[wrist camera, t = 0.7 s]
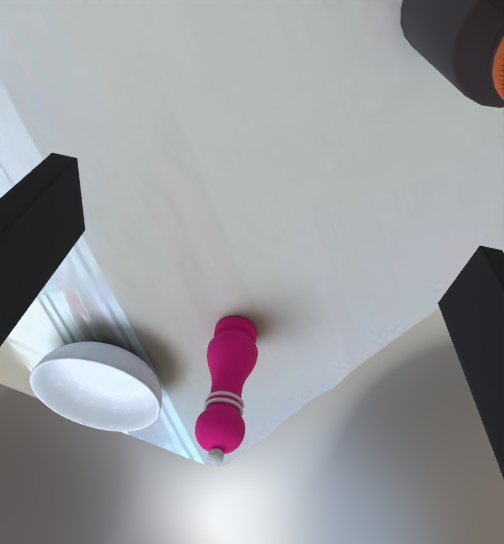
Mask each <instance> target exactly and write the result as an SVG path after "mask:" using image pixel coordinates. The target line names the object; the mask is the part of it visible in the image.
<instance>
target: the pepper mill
mask: <svg viewBox="0 0 504 544" xmlns="http://www.w3.org/2000/svg"><path fill="white" fill-rule="evenodd" d="M256 335H257V331H256V328H255V326H254V325H253V324H252V322H250V321H249V320H247V319H245V318H242V317H238V316H230V317H226V318H223V319H221V320H220V321H219V322H218V323H217V325H216V328H215V333H214V338H213V339H212V340H211V341H210V343H209V345H208V350H207V361H208V366H209V369H210V373H211V377H212V387H211V392H210V394H209V395H207V396H206V398H205V404H204V411H203V412H202V413H201V414H200V416H199V417H198V419H197V421H196V426H195V435H196V439H197V441H198V443H199V444H200V445H201V447H202V448H203V449H205V450H206V451H208V452H209V454H208V460H209V462H210V463H211V464H213V465H218V464H220V463H221V462H222V460H223V458H224V455H223V454H227V453H230V452H232V451H234V450H235V449H237V448H238V447H239V445H240V444H241V443H242V441H243V438H244V434H245V423H244V420H243V418H242V417H241V416H242V415H243V408H244V402H243V400H242V399H241V393H242V388H243V384H244V382H245V380H246V379H247V377H248V376H249V374H250V373H251V372H252V370H253V368H254V366H255V364H256V361H257V356H258V350H257V347H256V345H255V342H256Z"/></svg>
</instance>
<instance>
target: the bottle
mask: <svg viewBox="0 0 504 544" xmlns="http://www.w3.org/2000/svg"><path fill="white" fill-rule="evenodd" d="M401 26H402V30H403V33H404V36H405V38H406V39H407V40H408V42H409V43H410V44H411V46H412V47H413V48H414V49H415V50H417V51H418V52H419V53H420V54H421V55H422V56H423V57H424V58H425V59H426V60H427V61H428V62H429V63H430V64H432V65H433V66H434V67H435V68H436V69H437V70H438V71H439V72H440V73H441V74H442V75H443V76H444V77H446V78H447V79H448V80H449V81H450V82H451V83H452V84H453V85H454V86H455V87H456V88H457V89H458V90H459V91H461V92H462V93H463V94H464V95H465V96H466V97H468V98H470V99H471V100H473V101H475V102H477V103H478V104H480V105H483V106H490V107H498V108H502V107H504V0H403V3H402V6H401Z"/></svg>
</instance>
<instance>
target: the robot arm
mask: <svg viewBox="0 0 504 544" xmlns="http://www.w3.org/2000/svg"><path fill="white" fill-rule="evenodd" d="M84 231H85V224H84V215H83V206H82V197H81V188H80V179H79V171H78V162H77V158H74V157H69V156H65V155H60V154H56V153H51V154H50V155H49V156H48V157H47V158H46V159H44V160H43V161H42V162H41V163H40V164H39V165H38V166H36V167H35V168H34V169H33V170H32V171H31V172H30V173H29V174H27V175H26V176H25V177H24V178H23V179H22V180H21V181H19V182H18V183H17V184H16V185H15V186H14V187H13V188H11V189H10V190H9V191H8V192H7V193H6V194H5V195H3V196H2V197H1V198H0V346H1V345H2V344H3V342H4V341H5V339H6V338H7V337H8V335H9V334H10V333H11V331H12V330H13V328H14V327H15V326H16V324H17V323H18V322H19V320H20V319H21V317H22V316H23V315H24V313H25V312H26V311H27V309H28V308H29V306H30V305H31V304H32V302H33V301H34V300H35V298H36V297H37V295H38V294H39V293H40V291H41V290H42V289H43V287H44V286H45V284H46V283H47V282H48V280H49V279H50V278H51V276H52V275H53V274H54V272H55V271H56V269H57V268H58V267H59V265H60V264H61V263H62V261H63V260H64V258H65V257H66V256H67V254H68V253H69V252H70V250H71V249H72V247H73V246H74V245H75V243H76V242H77V241H78V239H79V238H80V236H81V235H82V234H83V232H84ZM438 305H439V307H440V310H441V312H442V315H443V318H444V320H445V323H446V326H447V329H448V331H449V334H450V337H451V339H452V342H453V344H454V347H455V350H456V353H457V355H458V358H459V361H460V363H461V366H462V369H463V371H464V374H465V376H466V379H467V382H468V385H469V387H470V390H471V393H472V395H473V398H474V401H475V403H476V406H477V409H478V411H479V414H480V416H481V419H482V422H483V425H484V427H485V430H486V433H487V435H488V438H489V441H490V443H491V446H492V449H493V451H494V454H495V457H496V459H497V462H498V465H499V467H500V470H501V473H502V475H503V478H504V253H503V251H502V250H498V249H494V248H489V247H484V246H479V247H478V249H477V250H476V252H475V253H474V254H473V256H472V257H471V258H470V260H469V261H468V263H467V264H466V265H465V267H464V268H463V269H462V271H461V272H460V274H459V275H458V276H457V278H456V279H455V280H454V282H453V283H452V285H451V286H450V287H449V289H448V290H447V291H446V293H445V294H444V296H443V297H442V298H441V300H440V301H439V302H438Z"/></svg>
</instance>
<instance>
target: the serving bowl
mask: <svg viewBox="0 0 504 544" xmlns="http://www.w3.org/2000/svg"><path fill="white" fill-rule="evenodd" d="M30 384H31V387H32V389H33V391H34V393H35V394H36V396H37V397H38V398H39V399H40V400H41V401H42V402H43V403H44V404H45V405H47V406H48V407H49V408H51V409H52V410H54V411H55V412H57V413H59V414H60V415H62V416H64V417H66V418H68V419H70V420H72V421H75V422H77V423H80V424H83V425H86V426H89V427H93V428H97V429H103V430H110V431H132V430H138V429H142V428H144V427H147V426H149V425H151V424H152V423H153V422H154V421H155V420H156V419H157V418H158V416H159V414H160V409H161V402H162V393H161V387H160V384H159V381H158V379H157V377H156V375H155V374H154V372H153V371H152V369H151V368H150V367H149V366H148V365H147V364H146V363H145V362H144V361H143V360H141V359H140V358H139V357H137V356H136V355H134V354H132V353H131V352H129V351H127V350H125V349H122V348H120V347H117V346H114V345H110V344H106V343H101V342H76V343H71V344H67V345H64V346H61V347H59V348H57V349H55V350H53V351H52V352H50V353H49V354H47V355H46V356H45V357H44V358H43V359H42V360H41V361H40V362H39V363H38V364H37V365H36V366H35V368H34V369H33V370H32V372H31V375H30Z"/></svg>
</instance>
